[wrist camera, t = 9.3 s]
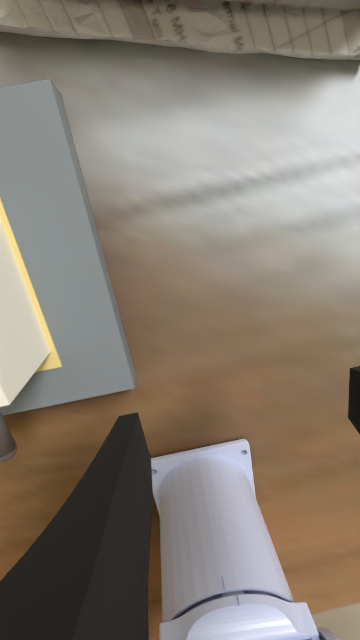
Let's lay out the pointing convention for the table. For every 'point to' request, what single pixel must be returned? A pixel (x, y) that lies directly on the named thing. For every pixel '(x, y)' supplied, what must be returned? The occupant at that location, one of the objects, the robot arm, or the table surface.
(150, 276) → the table surface
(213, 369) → the table surface
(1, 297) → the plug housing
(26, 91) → the board
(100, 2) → the packaged product
